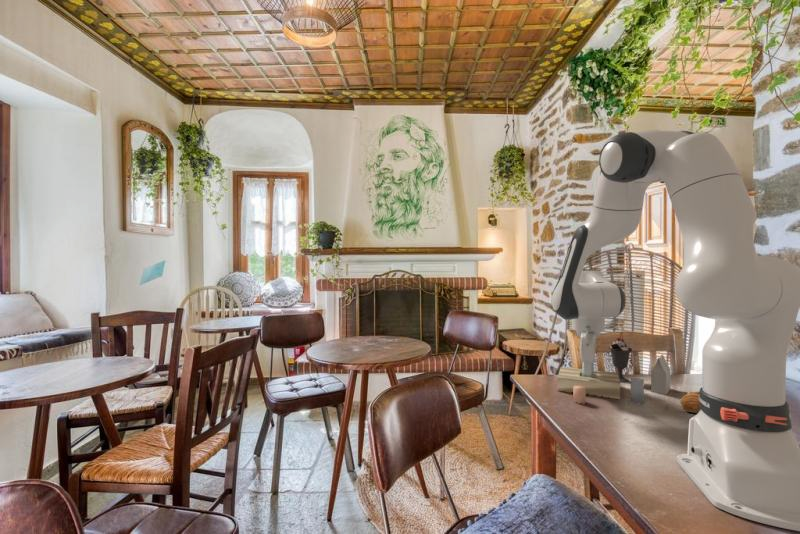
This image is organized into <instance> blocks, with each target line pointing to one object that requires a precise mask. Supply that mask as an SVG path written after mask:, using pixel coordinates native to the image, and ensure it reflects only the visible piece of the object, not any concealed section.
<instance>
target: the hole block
mask: <svg viewBox="0 0 800 534" xmlns="http://www.w3.org/2000/svg"><path fill="white" fill-rule="evenodd" d="M557 375H558V376H557V391H558V392H563V391H566V392H565V393H571V392H573V386H583V387H585V388H586V394H589V395H588V396H593V395H597V396H596V397H601V396H603V397H602V398H608V397H609V398H610V399H618V400H621V382H620V381H619V376H618V372H612V371H601V370H594V369H593V378H591V377H582V368H574V367H573V368H572V367H563V366H560V368H559V371H558V374H557Z"/></svg>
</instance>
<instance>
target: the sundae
mask: <svg viewBox="0 0 800 534" xmlns="http://www.w3.org/2000/svg"><path fill="white" fill-rule="evenodd" d="M619 333H620V336H619V337H617V338H616V339H615V340H614V341H613V343H612V344H610V346H609V347H608V349H609V350H610V353H611V354H610V355H611V360H612V365H613V366H614V367H615V368H616V369H617V373H618V376H619V381H620V383H629V382H630V379H628V378H627V377H626V378H625V377H624V374H623V370H624V369H626V368H627V367H628V365H629V358H630V353H631V352H633V348H631V347H629V345H628V344H627V343H626V341H625V339H624V336H623V331H621V332H619Z"/></svg>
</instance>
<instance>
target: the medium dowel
mask: <svg viewBox="0 0 800 534" xmlns="http://www.w3.org/2000/svg"><path fill="white" fill-rule="evenodd" d="M644 394H645V380H644V379H643V378H640V377H631V378H630V402H631V403H635V404H644V403H645V395H644Z"/></svg>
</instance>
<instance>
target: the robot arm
mask: <svg viewBox="0 0 800 534" xmlns="http://www.w3.org/2000/svg"><path fill="white" fill-rule="evenodd" d="M598 164H599V165H598V166H599V169H600V171H601V172H600V175H599V177H598V181H597V184H596V188H595V192H594V195H593V200H592V206H591V207H592V208H591V210H590V211H591V212H590V213H589V215H588V218H587V219H586V220H585V221H584V223H583V224H582V225H580V226H578V227H577V228H576V230H575V232H574V233H573V235H572V238H571V240H570V243H569V246H568V249H567V252H566V256H565V258H564V261H563V262H564V263H563V265H562V268H561V271H560V274H559V278H558V280H557V282H556V284H555V287H554V288H553V291H552V294H551V308H552V310H553V312H555V314H557V316H559V317H560V318H562V319H563V320H565V321H566V320H571V330H573V331H575V332H576V336H578V337H580V341H579V342H580V343H579V344H580V351H579V354H580V355H579V356H580V361H581V363H582V362H584V374H585V375H589V376H590V375H591V369H592V363H593V364H594V363H595V362H596V341H597V338H600V336H601V333H603V332H605V330H606V327H605V323H606V321H605V319H606V318H615V317H618V316H620V315H621V314H622V313H623V312H624V309H625V308H626V302H627V301H626V293H625V291H624V290H623V289H622V288H621V287H620V286H619V285H618V284H616V283H612V282H611V281H609V280H607V279H606V278H605V276H604V272H602V271H601V270H599V269H585V270H584V267H585V264H586V261H587V260H588V258H589V256H590V255H592V254H593V253H594V252H596V251H598V250H600V249H602V248H605V247H607V246H610V245H613V244H616V243H619V242H621V241H623V240H625V239H627V238H628V237H630V236H631V235H632V234H633V233H635V232H636V230H637V229H638V227H639V224H640V221H641V217H642V212H643V206H644V200H645V196H646V195H645V194H646V191H647V189H648V188H649V186H651V185H652V184H654V183H660V184H664V185H665V186H666V190H667V194H668V196H669V200H670V202H671V205H672V208H673V212H674V214H675V216H676V220H677V223H678V226H679V229H680V233H681V237H682V238H681V239H682V244H683V245H682V246H683V261H682V268H681V270H680V272H679V273H678V275H677V276H676V279H675V281H674V293H675V295H676V296H675V297H676V299H677V301H678V303H680V305H681V306H682V307H683V308H684V309H685V310H687V311H688V312H689V313H691V314H693V315H696V316H699V317H703V318H706V319H712V320H716V322H715V326H714V328H713V331H712V333H711V334H710V337H709V338H708V339H707V341H705V343H704V345H703V348H702V351H701V352H702V363H701V364H702V368H701V369H702V373H701V375H702V376H701V378H702V380H701V381H702V383H701V384H702V385H701V387H700V388H699V391H698V392H699V398H698V399H699V408H700V409H701V410H700V411H699V413H698V414H697V413H696V414H695V415H694V416H692V417H691V418H689V422H688V435H687V436H688V437H687V453H681V454H678V455H677V456H676V462H677V463H678V465H679V466H680V467H681V468H682V470H684V472H685V473H686V474H687V475H688V477H689V478H690V479H691V481H692V482H693V483H694V484H695V486H697V487H698V489H699V490H700V491H701V492H702V494H703V495H704V496H705V497H706V498H707V499H708V500H709V502H710V503H711V504H712V505H713V506H715V507H716V508H718V509H719V510H723V511H725V512H727V513H730V514H731V515H735V516H738V517H740V518H743V519H746V520H750V521H754V522H757V523H760V524H764V525H767V526H772V527H777V528H782V529H785V530H791V531H796V532H800V446H799V442H798V441H797V434H796V433H795V432H794V431H792V430H791V429H792V427H793V425H792V412H791V411H790V406H789V403H788V402H787V401H786V385H787V384H786V383H787V382H786V381H787V380H786V376H787V375H786V374H787V358H788V357H787V356H788V351H789V346H790V343H791V339H792V336H793V333H794V328H795V324H796V321H797V317H798V314H799V311H800V267H799V266H798V265H796V264H794V263H792V262H790V261H787V260H785V259H782V258H779V257H775V256H770V255H757V253H756V250H755V249H756V248H755V242H754V241H755V240H754V226H755V225H754V224H755V223H756V220H757V217H758V216H757V211H756V209H755V206H754V203H753V202H752V198H751V196H750V194H749V191H748V190H747V187H746V185H745V182H744V180H743V177H742V175H741V173H740V171H739V169H738V167H737V165H736V162H735V161H734V159H733V157H732V156H731V154H730V153H729V151H728V149H727V148H726V147H725V146H724V144H723V143H722V142H721V140H720V139H719V138H718V137H717V136H715V134H712V133H708V132H693V131H689V130H679V131H678V130H677V131H676V130H675V131H674V130H659V129H652V130H651V129H650V130H642V131H641V130H640V131H634V132H633V131H626V132H622V133H619V134H616V135H614V136H612V137H610V138H609V139H608V140H606V141H605V143H604V144H603V145H602V148H601V150H600V153H599V159H598Z"/></svg>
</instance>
